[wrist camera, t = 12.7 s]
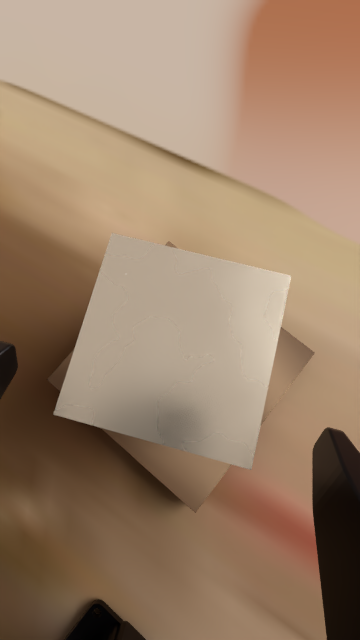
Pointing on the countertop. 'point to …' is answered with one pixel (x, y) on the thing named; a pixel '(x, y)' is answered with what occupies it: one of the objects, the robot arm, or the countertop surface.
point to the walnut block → (190, 469)
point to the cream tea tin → (177, 350)
